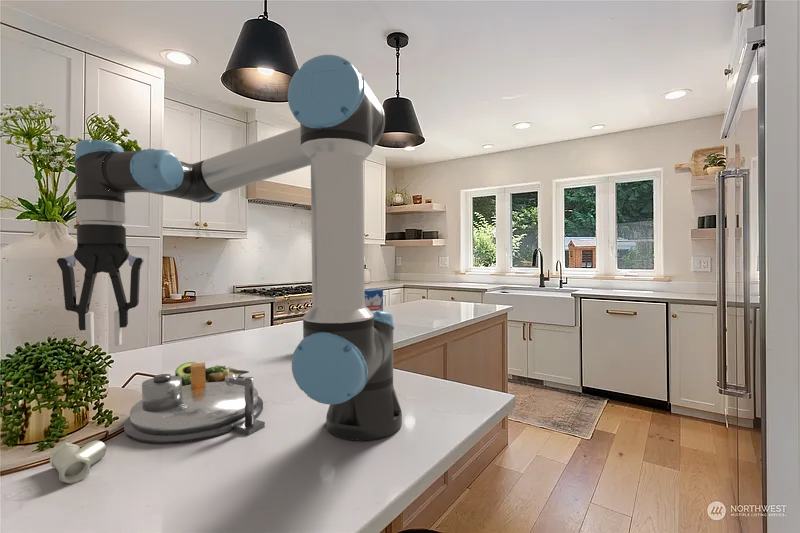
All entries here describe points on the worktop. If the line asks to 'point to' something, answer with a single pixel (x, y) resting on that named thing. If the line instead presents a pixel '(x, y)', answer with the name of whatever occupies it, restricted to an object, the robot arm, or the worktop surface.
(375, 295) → the milk carton
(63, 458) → the pipe fitting
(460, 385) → the worktop surface
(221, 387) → the turntable
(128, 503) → the worktop surface
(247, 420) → the stand
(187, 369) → the salad plate
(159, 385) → the cast cover
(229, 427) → the turntable base
